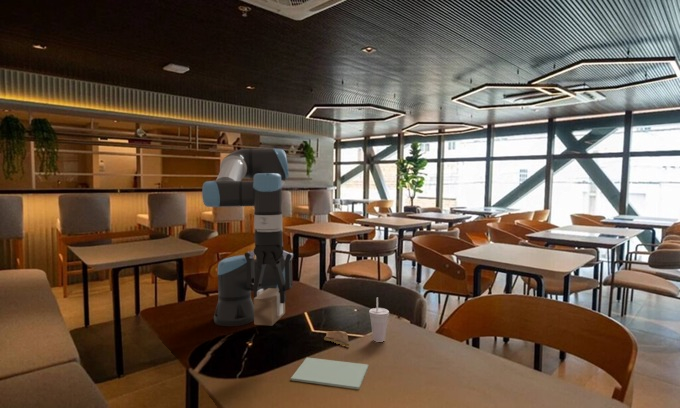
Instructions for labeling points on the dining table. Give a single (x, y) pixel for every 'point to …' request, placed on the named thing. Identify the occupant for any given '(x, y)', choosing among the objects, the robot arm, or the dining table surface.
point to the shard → (337, 337)
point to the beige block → (266, 308)
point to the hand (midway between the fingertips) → (270, 313)
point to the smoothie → (378, 322)
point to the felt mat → (331, 373)
